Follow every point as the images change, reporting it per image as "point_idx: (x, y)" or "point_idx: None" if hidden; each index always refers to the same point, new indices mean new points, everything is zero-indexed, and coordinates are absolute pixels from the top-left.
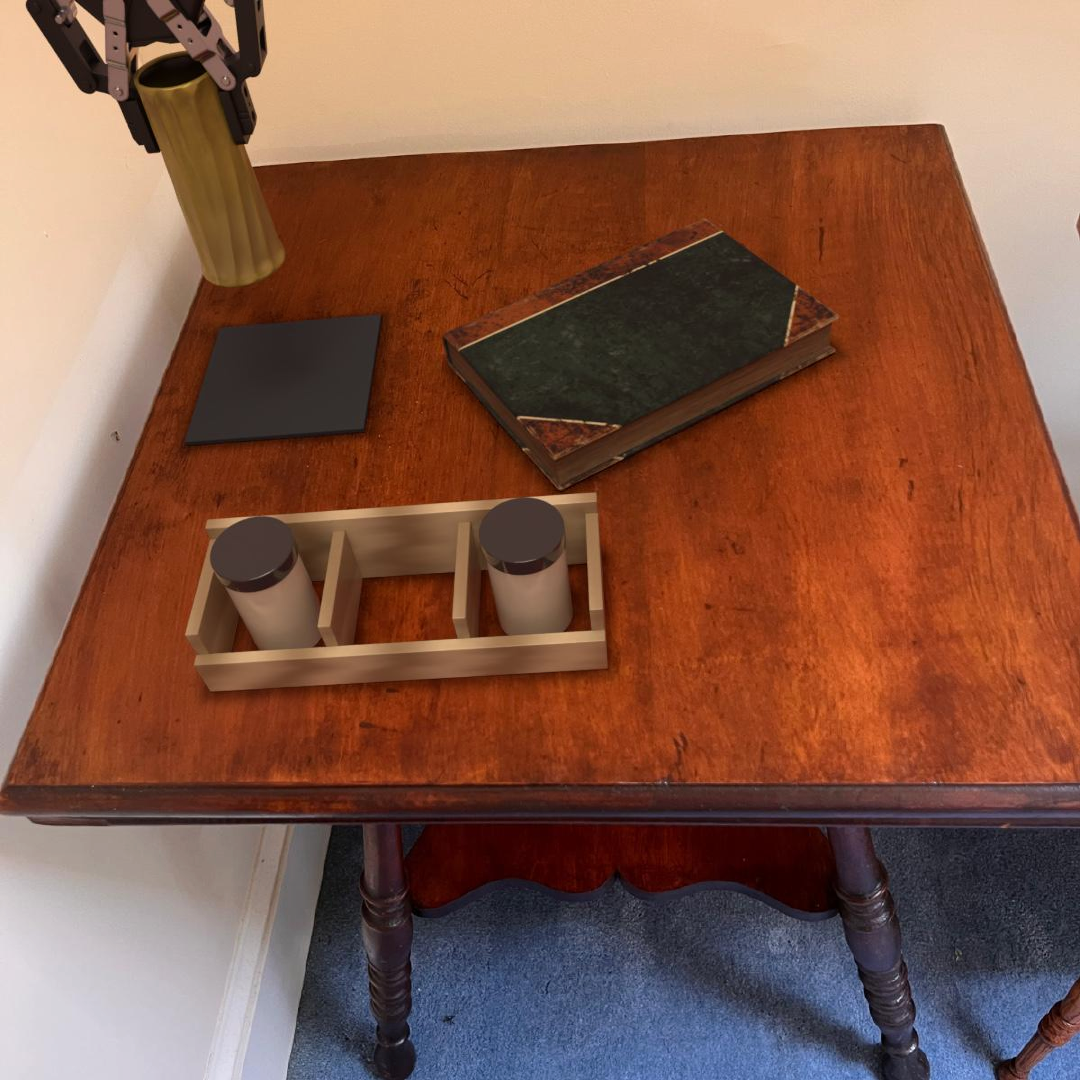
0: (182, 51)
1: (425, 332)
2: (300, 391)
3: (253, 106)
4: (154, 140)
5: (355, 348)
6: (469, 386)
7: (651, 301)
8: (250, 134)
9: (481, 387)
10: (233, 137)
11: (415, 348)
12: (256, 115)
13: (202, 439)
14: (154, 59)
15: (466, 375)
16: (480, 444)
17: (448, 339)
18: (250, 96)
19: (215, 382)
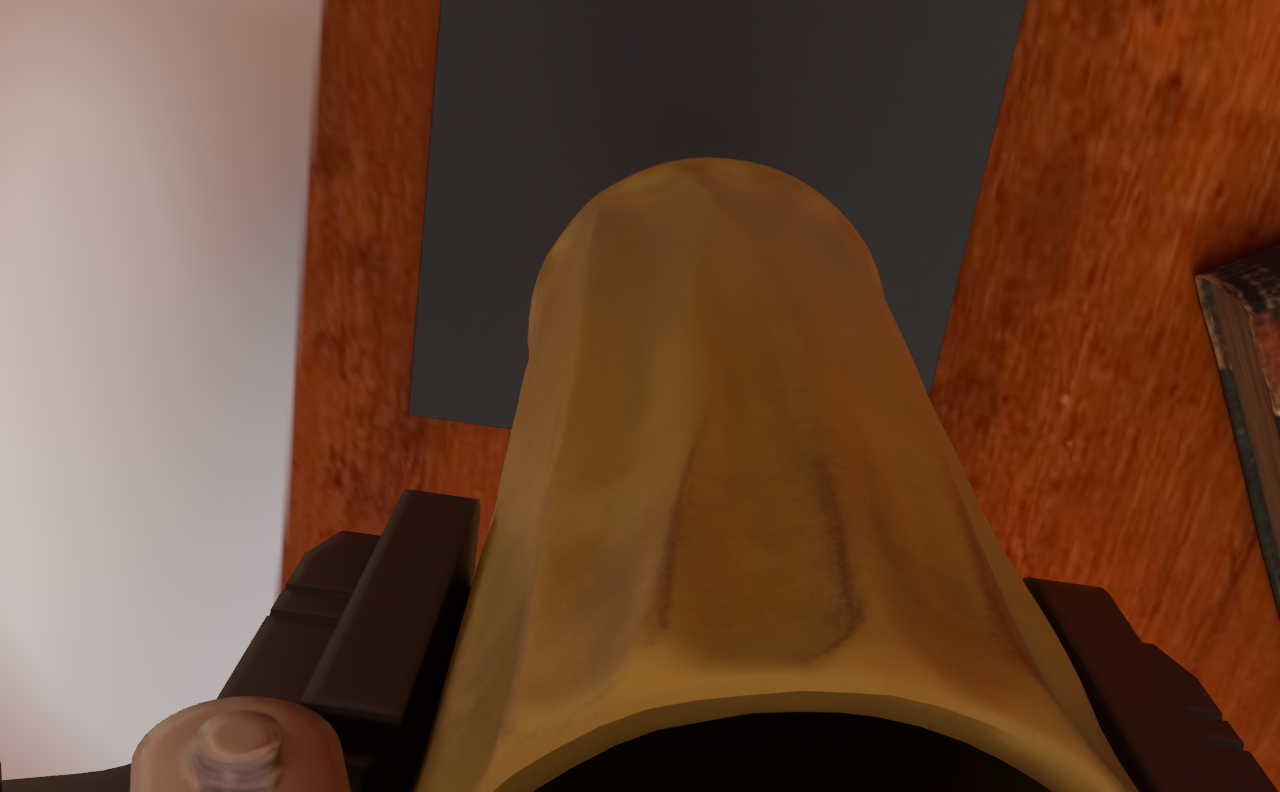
0: (860, 710)
1: (1160, 82)
2: None
3: (1227, 731)
4: None
5: (925, 128)
6: (1228, 393)
7: None
8: None
9: (1270, 466)
10: None
11: (1110, 157)
12: (1197, 684)
13: (459, 417)
14: (536, 788)
15: (1237, 369)
16: (1189, 590)
17: (1261, 354)
18: (1265, 782)
19: (469, 178)
